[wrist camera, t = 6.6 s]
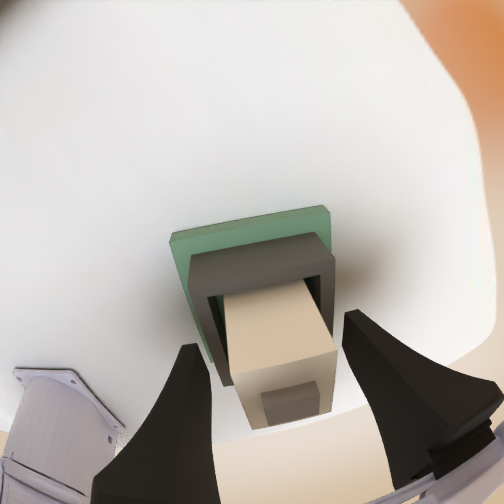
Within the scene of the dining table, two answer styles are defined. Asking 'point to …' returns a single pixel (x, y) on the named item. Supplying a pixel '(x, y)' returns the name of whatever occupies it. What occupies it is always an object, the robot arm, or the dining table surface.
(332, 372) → the plug
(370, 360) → the robot arm
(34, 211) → the dining table surface
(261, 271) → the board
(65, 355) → the dining table surface
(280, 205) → the dining table surface
